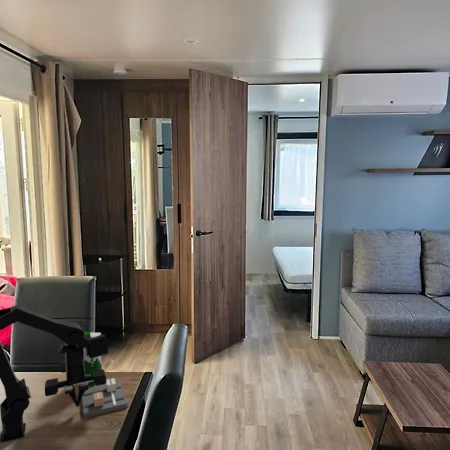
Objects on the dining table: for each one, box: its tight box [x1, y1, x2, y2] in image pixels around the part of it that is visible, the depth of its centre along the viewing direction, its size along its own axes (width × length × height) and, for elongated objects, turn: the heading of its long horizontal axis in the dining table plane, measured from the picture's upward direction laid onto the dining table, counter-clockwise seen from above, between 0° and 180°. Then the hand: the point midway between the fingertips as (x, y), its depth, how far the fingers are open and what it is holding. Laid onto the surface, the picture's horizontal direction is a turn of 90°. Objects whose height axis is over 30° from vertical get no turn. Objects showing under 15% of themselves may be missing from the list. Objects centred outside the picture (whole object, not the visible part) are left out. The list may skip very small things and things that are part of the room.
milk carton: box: [77, 330, 102, 387], centre depth 149 cm, size 9×9×20 cm
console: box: [81, 381, 128, 418], centre depth 137 cm, size 15×14×2 cm
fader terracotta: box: [93, 392, 104, 407], centre depth 132 cm, size 4×3×3 cm
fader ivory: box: [105, 378, 117, 392], centre depth 141 cm, size 4×3×3 cm
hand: (77, 405), depth 129 cm, fingers closed
